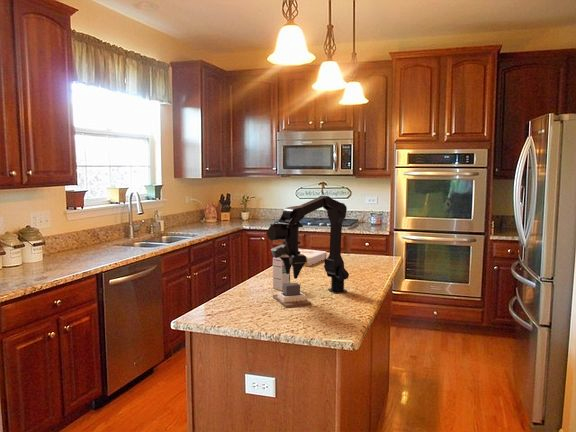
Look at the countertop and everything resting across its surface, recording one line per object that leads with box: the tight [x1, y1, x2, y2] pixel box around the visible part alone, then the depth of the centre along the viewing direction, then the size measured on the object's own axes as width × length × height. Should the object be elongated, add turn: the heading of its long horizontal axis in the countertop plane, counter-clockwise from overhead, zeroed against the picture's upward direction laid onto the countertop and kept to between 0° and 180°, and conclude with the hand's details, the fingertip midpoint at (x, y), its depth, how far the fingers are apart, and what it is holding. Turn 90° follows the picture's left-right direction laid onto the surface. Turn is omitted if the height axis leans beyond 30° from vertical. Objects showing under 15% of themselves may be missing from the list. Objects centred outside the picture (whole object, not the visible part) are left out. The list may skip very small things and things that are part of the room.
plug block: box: [282, 282, 301, 296], centre depth 192 cm, size 4×6×6 cm, turn 110°
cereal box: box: [299, 248, 328, 268], centre depth 278 cm, size 20×6×28 cm
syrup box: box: [272, 257, 291, 291], centre depth 212 cm, size 6×6×14 cm
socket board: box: [272, 291, 312, 309], centre depth 192 cm, size 16×11×3 cm
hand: (291, 276), depth 191 cm, fingers open, 9 cm apart
